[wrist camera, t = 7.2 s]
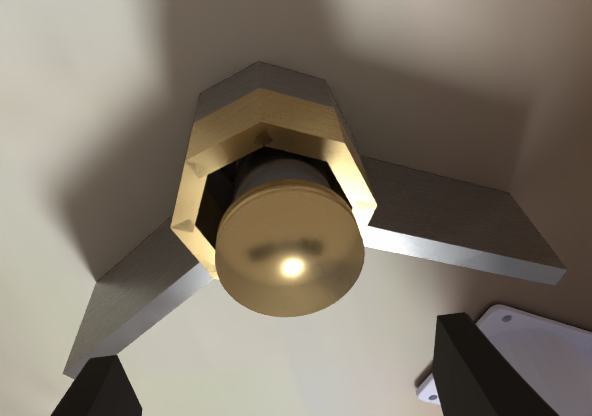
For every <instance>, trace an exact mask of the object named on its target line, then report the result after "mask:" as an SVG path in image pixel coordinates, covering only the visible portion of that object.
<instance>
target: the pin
mask: <svg viewBox="0 0 592 416" xmlns="http://www.w3.org/2000/svg"><path fill="white" fill-rule="evenodd" d="M364 256H365V251H364V242H363V238H362V235H361V232H360V230H359V227H358V224H357V221H356V218H355V216H354V214H353V212H352V210H351V208H350V207H349V205H348V204H347V203H346V202H345V200H343V199H342V198H341V197H340V196H339V195H338V194H337V193H335V192H334V191H333V190H331V188H330V185H329V182H328V178H327V175H326V172H325V169H324V165H323V162H322V160H319V159H315V158H311V157H307V156H303V155H299V154H295V153H291V152H287V151H283V150H279V149H275V148H270V147H266V146H263V147H261V148H259V149H257V150H255V151H253V152H251V153H249V154H247V155H245V156H243V157H241V158H239V159H237V160H236V165H235V185H234V202H233V203H232V204H231V205H230V206H229V208H228V209H227V210H226V212H225V214H224V215H223V217H222V219H221V222H220V224H219V228H218V231H217V239H216V250H215V267H216V271H217V275H218V277H219V280H220V282H221V284H222V285H223V287H224V289H225V290H226V291H227V292H228V294H229V295H230V296H231V297H232V298H233V299H234V300H236V301H237V302H238V303H240V304H241V305H243V306H245V307H246V308H248V309H250V310H253V311H255V312H258V313H261V314H264V315H269V316H275V317H296V316H303V315H307V314H311V313H314V312H317V311H320V310H322V309H324V308H326V307H328V306H330V305H332V304H333V303H335V302H336V301H338V300H339V299H340V298H342V297H343V296H344V295H345V294H346V293H347V292H348V291H349V290H350V289H351V287H352V286H353V285H354V284H355V282H356V280H357V279H358V277H359V275H360V272H361V270H362V267H363V263H364Z"/></svg>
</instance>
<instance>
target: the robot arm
mask: <svg viewBox="0 0 592 416" xmlns="http://www.w3.org/2000/svg"><path fill="white" fill-rule="evenodd" d="M416 395H417V398H418V399H419V400H422V401H426V402H431V403H435V404H439V405H441V408H442V411H443V415H444V416H592V332H589V331H586V330H583V329H579V328H576V327H573V326H570V325H566V324H563V323H560V322H557V321H553V320H550V319H547V318H544V317H540V316H537V315H534V314H531V313H527V312H524V311H521V310H518V309H514V308H511V307H508V306H505V305H499V304H498V305H494V306H492V307H491V308H489V309H488V311H487V312H486V313H485V314H484V315H483V316H482V317H481V318H480V319H479V321H478V322H477V323H476V324H475V323H474V321H473V320H472V319H471V318H470V317H469V315H467V314H466V313H465V312H463V313H455V314H447V315H438V316H437V324H436V335H435V347H434V358H433V369H432V373H431V374H430V375H429V376H428V377H427V378H426V380H425V381H424V382H423V383H422V384H421V385H420V386H419V387H418V389H417V390H416ZM51 416H142V407H141V405H140V403H139V401H138V399H137V396H136V394H135V392H134V390H133V388H132V386H131V384H130V382H129V379H128V377H127V375H126V373H125V371H124V369H123V367H122V364H121V362H120V360H119V358H118V356H117V355H111V356H103V357H95V358H90V359H89V360H88V361H87V362H86V364H85V365H84V367H83V368H82V370H81V371H80V373H79V374H78V376H77V377H76V379H75V380H74V382H73V383H72V385H71V386H70V388H69V389H68V391H67V392H66V394H65V395H64V397H63V398H62V399H61V401H60V402H59V404H58V405H57V407H56V408H55V410H54V411H53V413H52V414H51Z"/></svg>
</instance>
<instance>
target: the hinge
mask: <svg viewBox="0 0 592 416" xmlns="http://www.w3.org/2000/svg"><path fill="white" fill-rule="evenodd" d="M263 146H266V147H270V148H275V149H279V150H283V151H287V152H291V153H295V154H299V155H303V156H307V157H311V158H315V159H319V160H323V161H322V162H323V165H324V169H325V172H326V175H327V178H328V182H329V185H330V188H331V190H333V191H334V192H335V193H337V194H338V195H339V196H340V197H341V198H342V199H343V200H345V202H346V203H347V204H348V205H349V207H350V208H351V210H352V212H353V214H354V216H355V218H356V221H357V224H358V227H359V230H360V232H361V235H362V238H363V242H364V246H366V247H371V248H376V249H381V250H385V251H390V252H395V253H400V254H405V255H409V256H414V257H419V258H424V259H428V260H433V261H438V262H443V263H447V264H452V265H457V266H462V267H467V268H471V269H476V270H481V271H486V272H490V273H495V274H500V275H505V276H509V277H514V278H519V279H524V280H529V281H533V282H538V283H543V284H548V285H552V286H555V285H556V284H557V283H558V282H559V280H560V279H561V278H562V277H563V275H564V274H565V273H566V272H567V268H566V267H565V266H564V264H563V263H562V262H561V261H560V259H559V258H558V257H557V255H556V254H555V253H554V251H553V250H552V249H551V247H550V246H549V245H548V243H547V242H546V241H545V240H544V238H543V237H542V236H541V234H540V233H539V232H538V230H537V229H536V228H535V226H534V225H533V224H532V222H531V221H530V220H529V218H528V217H527V216H526V215H525V213H524V212H523V211H522V209H521V208H520V207H519V205H518V204H517V203H516V201H515V200H514V199H513V197H512V196H511V195H510V194H509V193H505V192H502V191H498V190H494V189H490V188H486V187H482V186H478V185H474V184H470V183H466V182H462V181H458V180H454V179H450V178H446V177H442V176H438V175H434V174H431V173H427V172H423V171H419V170H415V169H411V168H407V167H403V166H399V165H395V164H391V163H387V162H383V161H379V160H375V159H371V158H367V157H363V156H360V155H359V152H358V150H357V147H356V144H355V141H354V138H353V136H352V133H351V131H350V129H349V127H348V125H347V123H346V121H345V119H344V117H343V115H342V114H341V112H340V110H339V108H338V106H337V104H336V102H335V100H334V98H333V96H332V94H331V92H330V90H329V88H328V86H327V84H326V82H325V80H323V79H319V78H316V77H312V76H309V75H305V74H302V73H298V72H295V71H291V70H288V69H284V68H281V67H277V66H274V65H270V64H267V63H263V62H260V61H259V62H257V63H255V64H253V65H252V66H250V67H248V68H246V69H244V70H242V71H241V72H239V73H237V74H235V75H233V76H231V77H230V78H228V79H226V80H224V81H222V82H220V83H219V84H217V85H215V86H213V87H211V88H209V89H208V90H206V91H204V92H202V93H200V96H199V101H198V105H197V110H196V114H195V119H194V123H193V128H192V132H191V137H190V141H189V146H188V150H187V155H186V159H185V164H184V168H183V173H182V177H181V182H180V186H179V191H178V196H177V200H176V205H175V209H174V214H173V215H172V216H171V217H170V218H169V219H168V220H167V221H166V222H164V223H163V224H162V225H161V226H160V227H159V228H158V229H157V230H155V231H154V232H153V233H152V234H151V235H150V236H149V237H147V238H146V239H145V240H144V241H143V242H142V243H141V244H140V245H138V246H137V247H136V248H135V249H134V250H133V251H132V252H131V253H129V254H128V255H127V256H126V257H125V258H124V259H123V260H122V261H120V262H119V263H118V264H117V265H116V266H115V267H114V268H112V269H111V270H110V271H109V272H108V273H107V274H106V275H105V276H103V277H102V278H101V279H100V280H99V281H98V282H97V283H96V284H95V287H94V290H93V293H92V295H91V298H90V301H89V303H88V306H87V309H86V312H85V314H84V317H83V320H82V323H81V325H80V328H79V331H78V333H77V336H76V339H75V342H74V344H73V347H72V350H71V352H70V355H69V358H68V361H67V363H66V366H65V369H64V372H63V374H65V375H67V376H69V377H71V378H73V379H76V377H77V376H78V374H79V373H80V371H81V370H82V368H83V367H84V365H85V364H86V362H87V361H88V360H89V359H90V358H95V357H103V356H111V355H116V354H118V353H119V352H120V351H121V350H123V349H124V348H125V347H127V346H128V345H129V344H130V343H132V342H133V341H134V340H135V339H137V338H138V337H139V336H141V335H142V334H143V333H144V332H146V331H147V330H148V329H149V328H151V327H152V326H153V325H155V324H156V323H157V322H158V321H160V320H161V319H162V318H163V317H165V316H166V315H167V314H169V313H170V312H171V311H172V310H174V309H175V308H176V307H177V306H179V305H180V304H181V303H183V302H184V301H185V300H186V299H188V298H189V297H190V296H191V295H193V294H194V293H195V292H197V291H198V290H199V289H200V288H202V287H203V286H204V285H205V284H207V283H208V282H209V281H211V280H212V279H213V278H214V279H219V277H218V275H217V271H216V267H215V250H216V239H217V231H218V228H219V224H220V222H221V219H222V217H223V215H224V214H225V212H226V210H227V209H228V208H229V206H230V205H231V204H232V203H233V202H234V185H232V184H231V183H230V181H229V180H228V178H227V177H226V176H225V174H224V173H223V171H222V170H221V169H220V168H222V167H224V166H226V165H228V164H230V163H232V162H234V161H236V160H237V159H239V158H241V157H243V156H245V155H247V154H249V153H251V152H253V151H255V150H257V149H259V148H261V147H263Z"/></svg>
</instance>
